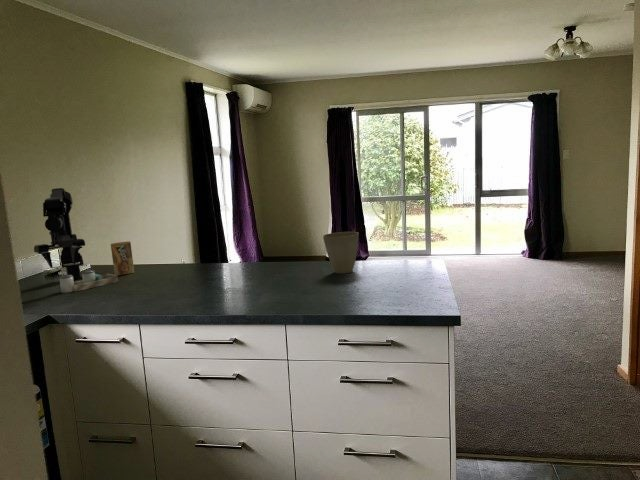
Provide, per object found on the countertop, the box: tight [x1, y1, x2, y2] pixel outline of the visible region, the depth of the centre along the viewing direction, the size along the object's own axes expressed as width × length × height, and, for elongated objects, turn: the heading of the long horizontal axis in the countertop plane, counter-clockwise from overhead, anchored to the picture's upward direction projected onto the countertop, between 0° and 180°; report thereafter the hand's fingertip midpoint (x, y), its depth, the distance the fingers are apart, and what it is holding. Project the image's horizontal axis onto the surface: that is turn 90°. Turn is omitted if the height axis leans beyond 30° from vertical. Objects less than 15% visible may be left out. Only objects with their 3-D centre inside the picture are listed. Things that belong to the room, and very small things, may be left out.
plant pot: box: [322, 231, 359, 275], centre depth 217 cm, size 15×15×16 cm
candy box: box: [110, 240, 135, 276], centre depth 249 cm, size 9×4×15 cm, turn 116°
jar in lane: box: [81, 269, 96, 284], centre depth 227 cm, size 5×5×7 cm
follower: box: [95, 273, 103, 281], centre depth 229 cm, size 1×6×4 cm, turn 48°
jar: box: [59, 274, 75, 294], centre depth 220 cm, size 5×5×7 cm
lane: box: [73, 273, 119, 292], centre depth 228 cm, size 19×9×3 cm, turn 138°
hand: (63, 265), depth 218 cm, fingers open, 9 cm apart
